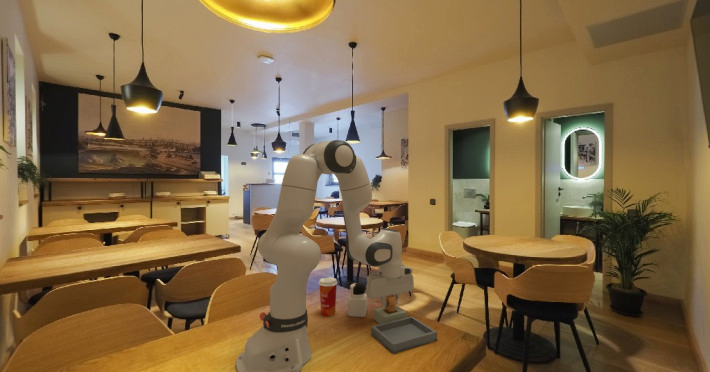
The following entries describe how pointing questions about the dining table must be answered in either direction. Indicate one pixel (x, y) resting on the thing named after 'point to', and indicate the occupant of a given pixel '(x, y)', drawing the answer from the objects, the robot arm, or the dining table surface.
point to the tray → (403, 334)
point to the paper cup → (328, 296)
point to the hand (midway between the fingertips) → (390, 305)
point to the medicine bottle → (357, 300)
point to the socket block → (388, 315)
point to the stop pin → (390, 304)
